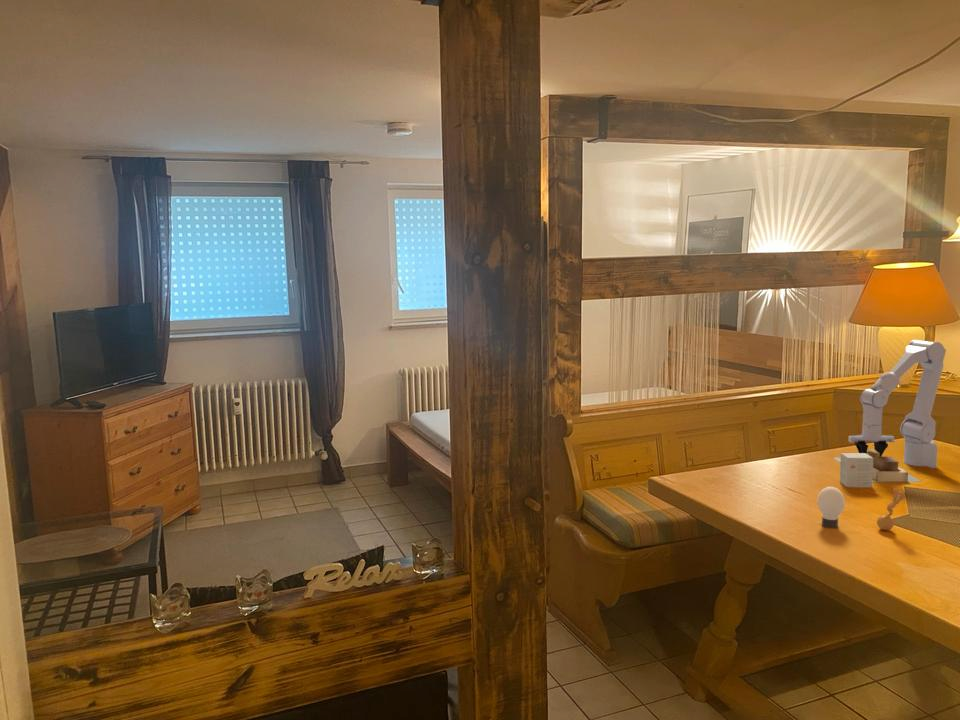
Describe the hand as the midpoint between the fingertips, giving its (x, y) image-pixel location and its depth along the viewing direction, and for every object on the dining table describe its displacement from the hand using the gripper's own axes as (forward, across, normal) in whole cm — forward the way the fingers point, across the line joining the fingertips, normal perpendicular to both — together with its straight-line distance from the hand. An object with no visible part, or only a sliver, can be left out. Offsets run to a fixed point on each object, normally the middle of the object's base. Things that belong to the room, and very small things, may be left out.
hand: (869, 462), depth 244 cm
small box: (+3, +13, +18) cm, 22 cm away
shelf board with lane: (+3, -1, +2) cm, 3 cm away
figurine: (+3, +21, +55) cm, 59 cm away
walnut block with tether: (+1, 0, +5) cm, 6 cm away
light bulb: (+3, +35, +51) cm, 62 cm away
